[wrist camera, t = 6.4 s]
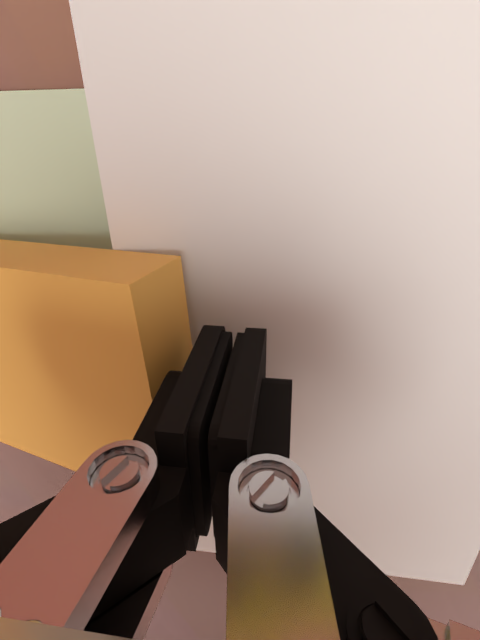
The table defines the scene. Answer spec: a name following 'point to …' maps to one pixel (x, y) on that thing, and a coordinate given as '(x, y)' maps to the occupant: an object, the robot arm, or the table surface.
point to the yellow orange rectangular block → (85, 344)
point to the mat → (50, 170)
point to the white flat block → (319, 230)
